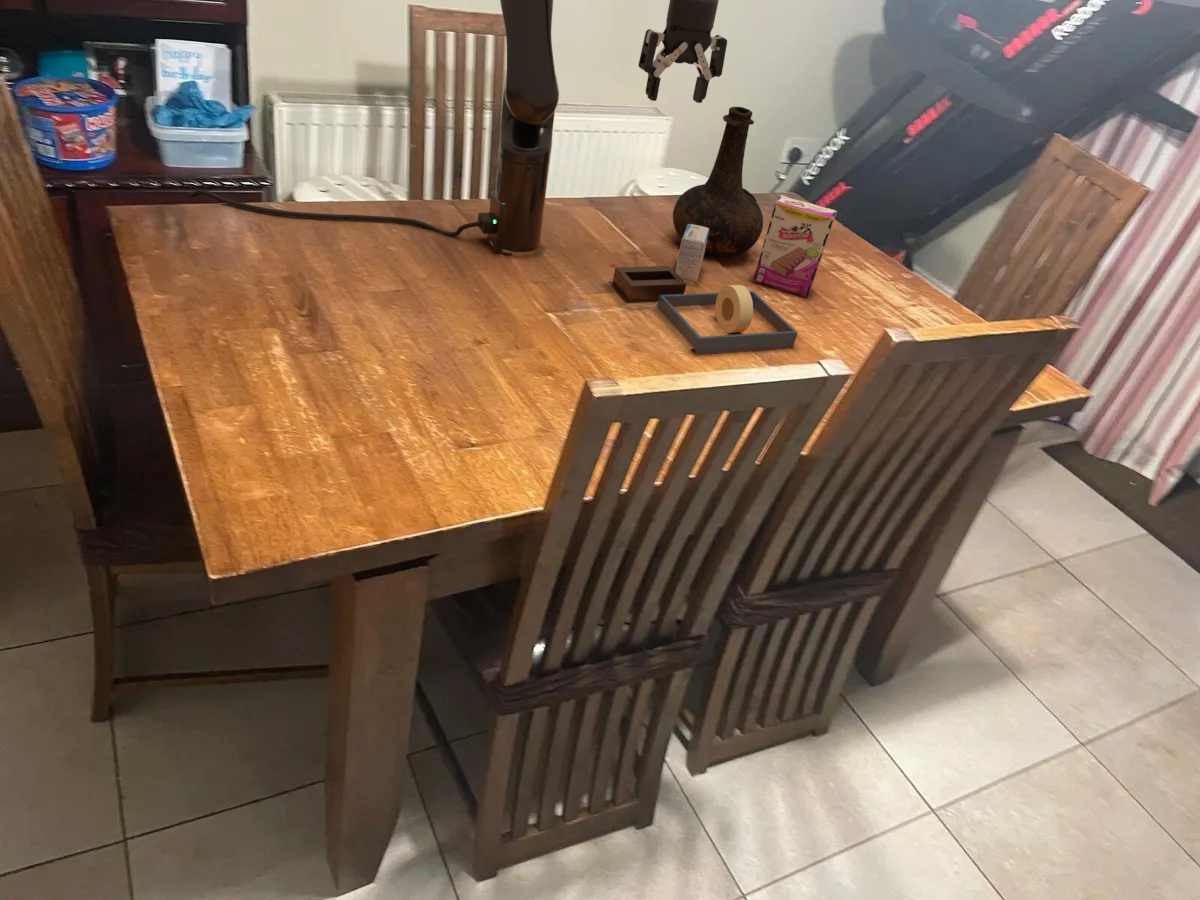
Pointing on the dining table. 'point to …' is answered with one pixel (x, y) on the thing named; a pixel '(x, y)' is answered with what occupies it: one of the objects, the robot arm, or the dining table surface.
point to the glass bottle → (724, 196)
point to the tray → (728, 341)
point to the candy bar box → (794, 245)
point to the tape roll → (734, 308)
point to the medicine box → (692, 252)
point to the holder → (646, 283)
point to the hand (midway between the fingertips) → (674, 100)
